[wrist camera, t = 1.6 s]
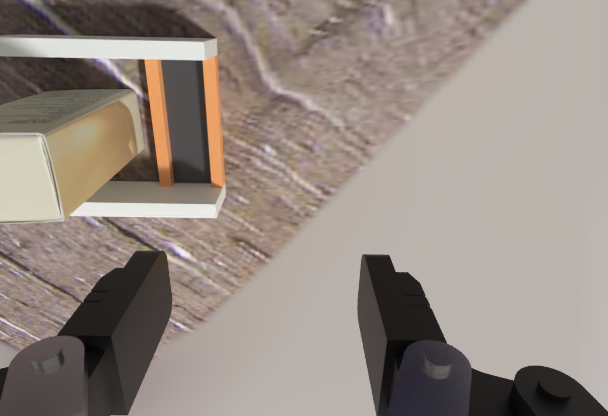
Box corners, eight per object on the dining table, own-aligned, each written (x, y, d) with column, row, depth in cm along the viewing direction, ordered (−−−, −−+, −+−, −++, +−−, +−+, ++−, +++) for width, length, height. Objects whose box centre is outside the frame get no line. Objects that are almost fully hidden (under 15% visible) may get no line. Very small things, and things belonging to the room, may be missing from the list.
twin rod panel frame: (21, 34, 27) (-21, 36, 24) (216, 38, 28) (203, 41, 24) (58, 192, 32) (27, 215, 28) (225, 195, 32) (216, 218, 28)
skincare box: (61, 150, 31) (-76, 227, 20) (45, 88, 29) (-115, 134, 18) (150, 149, 31) (65, 226, 20) (140, 88, 29) (40, 132, 18)
